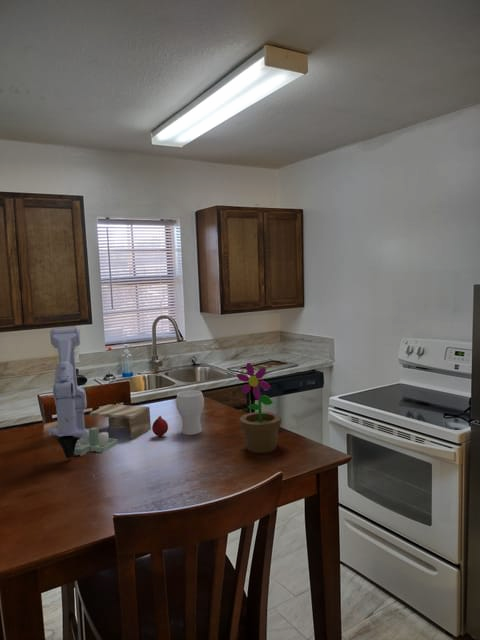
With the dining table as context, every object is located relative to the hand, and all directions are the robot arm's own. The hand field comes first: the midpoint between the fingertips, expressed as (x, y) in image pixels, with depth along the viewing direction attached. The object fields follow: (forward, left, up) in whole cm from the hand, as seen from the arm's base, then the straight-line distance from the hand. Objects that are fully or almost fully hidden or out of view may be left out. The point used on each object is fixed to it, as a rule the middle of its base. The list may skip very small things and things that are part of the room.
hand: (69, 457), depth 152 cm
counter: (+1, +28, -1) cm, 28 cm away
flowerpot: (+59, +26, -1) cm, 64 cm away
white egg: (+4, +13, 0) cm, 13 cm away
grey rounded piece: (-4, +13, 0) cm, 14 cm away
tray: (0, +11, -1) cm, 11 cm away
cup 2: (+28, +35, -1) cm, 45 cm away
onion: (+19, +27, -1) cm, 33 cm away
